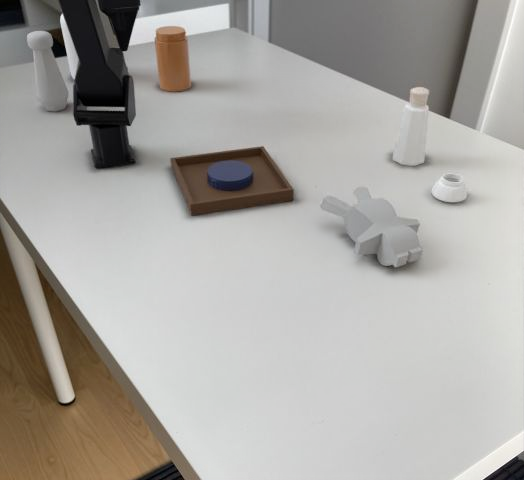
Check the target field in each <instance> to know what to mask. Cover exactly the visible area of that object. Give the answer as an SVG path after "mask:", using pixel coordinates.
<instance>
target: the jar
mask: <svg viewBox="0 0 524 480" xmlns="http://www.w3.org/2000/svg"><path fill="white" fill-rule="evenodd" d="M186 34H187V31H186V29H185V28H184V27H182V26H176V25H175V26H174V25H167V26H166V25H165V26H161V27H157V28H156V29H155V37H154V39H153V40H154V48H155V49H154V50H155V55H156V56H155V58H156V66H157V75H158V84H159V85H158V86H159V88H160V90H162V91H164V92H165V91H166V92H174V93H175V92H183V91H187V90H189V89H190V88H191V87H192V77H191V66H190V65H191V63H190V50H189V39H188V36H187V35H186Z"/></svg>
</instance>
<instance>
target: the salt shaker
mask: <svg viewBox="0 0 524 480" xmlns="http://www.w3.org/2000/svg"><path fill="white" fill-rule="evenodd" d="M26 42H27V43H26V44H27V46H28V47H29V49H31V50H32V55H33V65H34V66H33V67H34V79H35V80H34V81H35V95H36V99H37V101H38V102H39V103H40V105H41V106H42V107H43V108H44V110H45V111H47V112H54V113H55V112H58V111H63V110H65V109H66V107H67V105H68V99H69V90H68V87H67V85H66V82H65V80H64V78H63V75H62V72H61V70H60V67H59V64H58V62H57V59H56V57H55V55H54V52H53V49H52V47H53V46H54V40H53V36H52V34H51V33H50V32H48V31H45V30H36V31H31V32H29V33H28V34H27V35H26Z"/></svg>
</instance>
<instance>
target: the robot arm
mask: <svg viewBox="0 0 524 480" xmlns="http://www.w3.org/2000/svg"><path fill="white" fill-rule="evenodd" d="M57 2H58V5H59V8H60V10H61V14H62V13H63V16H64V19H65V22H66V25H67V28H68V31H69V33H70V36H71V39H72V42H73V45H74V48H75V50H76V53H77V56H78V59H79V60H78V65H77V70H76V76H75V80H74V81H73V82H74V83H73V85H72V105H73V107H72V108H73V109H72V110H73V113H72V115H73V120H74V122H75V124H76V126H77V127H78V126H88V128H89V134H90V137H91V139H90V140H91V143H92V148H91V149H90V152H91V156H92V161H93V167H94V168H95V169H102V168H109V167H116V166H117V167H118V166H124V165H131V164H136V157H135V154H134V150H133V148H132V145H131V144H130V141H129V133H128V127H132V124H133V122H134V120H135V118H136V116H137V111H136V109H137V108H136V97H135V96H136V95H135V93H136V92H135V82H134V78H133V76H132V75H131V74H129V69H128V66H127V63H126V59H125V54H124V52H127V51H128V50H129V45H130V42H131V38H132V34H133V30H134V26H135V23H136V19H137V15H138V12H139V11H140V7H141V6H142V5H141V0H57ZM100 12H101V13H102V14H103V15H105V16H106V17H107V19H108V22H109V24H110V28H111V30H112V34H113V35H114V36H115V38H116V42H117V44H118V47H110V44H109V42H108V38H107V34H106V32H105V27H104V25H103V21H102V17H101V14H100ZM88 108H124V110H99V109H96V110H95V109H90V110H89V109H88Z"/></svg>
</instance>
